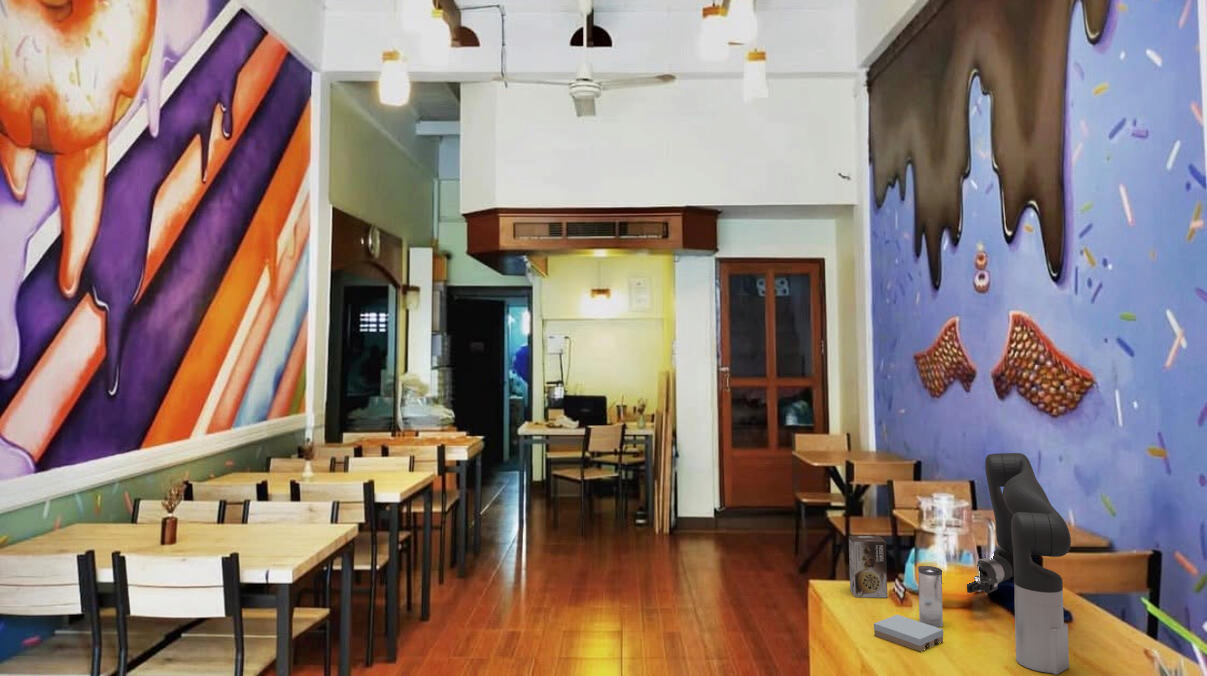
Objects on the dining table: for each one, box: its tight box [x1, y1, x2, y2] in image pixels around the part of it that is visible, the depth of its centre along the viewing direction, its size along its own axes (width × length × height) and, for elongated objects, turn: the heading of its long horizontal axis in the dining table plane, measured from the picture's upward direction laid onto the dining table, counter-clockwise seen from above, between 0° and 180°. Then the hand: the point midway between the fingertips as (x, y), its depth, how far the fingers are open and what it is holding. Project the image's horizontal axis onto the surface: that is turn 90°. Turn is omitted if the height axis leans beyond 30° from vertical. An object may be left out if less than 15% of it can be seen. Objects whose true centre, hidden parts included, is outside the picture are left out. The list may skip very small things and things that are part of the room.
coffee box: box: [848, 535, 888, 599], centre depth 201 cm, size 9×6×16 cm
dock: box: [873, 614, 944, 652], centre depth 169 cm, size 12×10×3 cm
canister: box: [917, 565, 944, 628], centre depth 178 cm, size 6×6×14 cm
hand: (952, 584), depth 184 cm, fingers open, 8 cm apart
